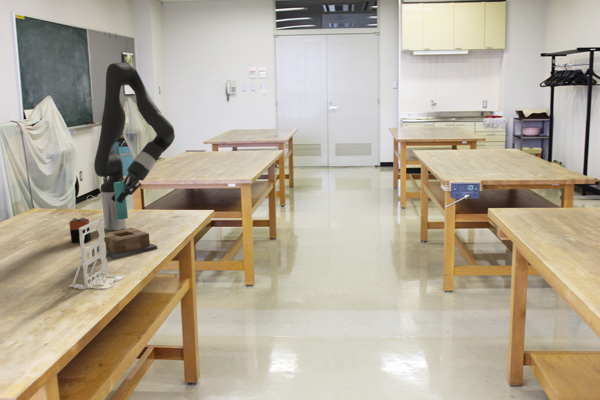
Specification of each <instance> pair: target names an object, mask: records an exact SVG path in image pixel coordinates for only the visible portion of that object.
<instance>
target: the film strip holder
mask: <svg viewBox="0 0 600 400" xmlns="http://www.w3.org/2000/svg"><path fill="white" fill-rule="evenodd" d="M96 224H97V226H96ZM92 226H93V227H94V228H92ZM88 227H89V229H90V231H88V232H87V228H88ZM84 229H85V233H84V234H83V232H82V230H84ZM96 230H97V232H98V238H97V239H98V240H97V241H96V242H94V243H92V244H91V245H89V246H86V244H85V243H84V237H85V235H86V234H88V233H90V234H91V233H92V232H95V231H96ZM79 233H80V236H79V237H80V243H79V244H80V251H81V252H80V253H81V256H80V262H79V264H78V268H77V270H76V273H75V276H74V278H73V281H72V283H71V284H70V285H69V288H70V287H74V288H75V289H74V288H73V289H74V290H87V289H86V288H94V289H93V290H107V288H109V289H112V288H113V287H114V286H115V282H119V281H121V280H125V278H126V276H125V274H118V273H108V272H109V265H108V259H107V256H106V244H105V242H104V238H105V234H104V233H105V227H104V222H103V218H97V219H95V220H94V221H91V222H89V224H87V225H85V226H83V227H80V228H79ZM98 246H99V252H97V247H98ZM93 249H94V250H93ZM92 250H93V251H94V255H93V253H92ZM87 253H88V259H87ZM98 260H100V261H101V265H100V267H101V268H100V270H99V271H95V267H96V265H97V262H98ZM91 264H93V265H92V268H91V271H90V272H88V269H89V267H88V266H89V265H91ZM81 267H82V270H83V273H82V274H83V283H84V284H82V283H81V284H79V283H77V284H76V281H77V278H78V275H79V273H80V270H81ZM94 271H95V272H94ZM93 277H94V279H92V278H93ZM105 277H106V278H105ZM111 277H112V278H111ZM91 284H92V285H91ZM93 284H94V286H93ZM90 285H91V287H89V286H90ZM92 286H93V287H92ZM111 286H112V287H111ZM76 288H78V289H76Z"/></svg>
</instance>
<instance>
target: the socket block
mask: <svg viewBox="0 0 600 400" xmlns="http://www.w3.org/2000/svg"><path fill="white" fill-rule="evenodd" d="M104 234H105V238H104V242H105V244H106V257H108V258H110V259H112V260H117V259H120V258H125V257H130V256H132V255H137V254H141V253H145V252H150V251H155V250H158V245H155V244H153V243H151V242H150V241H151V240H150V233H149V232H146V231H142V230H139V229H136V228H133V227H129V228H124V229H120V230H113V231H109V232H104ZM92 250H93V251H94V249H92ZM98 252H99V246H98V247H97V253H98Z"/></svg>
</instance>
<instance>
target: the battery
mask: <svg viewBox="0 0 600 400" xmlns="http://www.w3.org/2000/svg"><path fill="white" fill-rule="evenodd" d="M89 223H90V220H89V219H88V218H87V217H80V218H78V219H77V218H76V217H75V218H72V220H70V221H69V223H68V224H69V232H70V242H71V243H72V244H80V237H79V236H80V233H79V228H80V227H83V226H85V225H87V224H89ZM88 231H90V229H89V227H88V228H87V232H88ZM82 232H83V234H84V233H85V229H84V230H82ZM91 236H92V235H91V232H90V233H88V234H86V235H85V237H84V244H85V243H89V242H90V241H91V240H92V238H91Z"/></svg>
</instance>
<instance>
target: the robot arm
mask: <svg viewBox="0 0 600 400" xmlns="http://www.w3.org/2000/svg"><path fill="white" fill-rule="evenodd" d="M122 86H129V87H130V88H131V90H132V91H133V92H134V95H135V98H136V99H135V101H136V107H137V110H138V112H139V113H140V115H141V117H142V119H144V121H145V123H146V124H148V125H149V126H150V127H151V128H152V129H153V131H154V132H155V134H156V135H155V137H154V138H153V139H152V140H151V141H148V142H147V143H146V144H145V146H144V147H143V148H142V150H141V151H140V152H139V153H138V154H137V155H136V156H135V158H134V159H133V161H132V162H131V164H129V166H128V167H127V169H126V170H127V172H128V173H127V174H126V175H125V176H124V166H123V161H122V158H121V156H120V155H118V154H117V153H113V154H111V151H112V148H113V147H114V145H115V144H116V142H117V141H118V140H119V139H120V137H121V136H122V134H123V133H124V130H125V124H126V117H127V115H126V112H125V108H124V107H123V104H122V103H121V100H120V99H121V95H120V94H121V88H122ZM104 97H105V98H104V105H103V113H102V116H101V117H102V118H101V126H100V128H101V129H100V136H99V140H98V146H97V150H96V152H95V153H96V154H95V158H94V164H93V168H94V172H95V174H96V176H98V177H101V178H102V177H103V178H106V177H109V178H108V179H107V180H106V181H105V182H104V183H102V184H101V185H100V193H101V196H100V197H101V205H102V206H101V207H102V215H103V225H104V231H118V230H123V229H127V223H126V222H127V221H126V219H117V212H116V202H115V192H114V183H115V182H124V183H125V186H124V187H125V188H124V190H123V193H121V194H120V195H119V197H118V198H117V201H118V202H119V203H122V202H123V200H124V199H125V198H126V199H127V197H128V196H129V195H130V196H131V195H133V194H134V193H135V192H136V191H137V190H138V189H139V187H141V186H142V183H141V182H140V181H144V180H145V179H146V178H147V176H148V175H149V173H150V172H151V171H152V169H153V168H154V166H155V164H156V163H157V161H158V160H159V158H161V156H162V154H163V153H164V152H165V151H167V149H168V148H170V146H171V145H172V144H173V142H174V140H175V138H176V137H175V135H176V134H175V129H174V126H173V125H172V124H171V121H169V119H167V118H166V117H165V115H163V114H162V112H161V110H160V109H159V108H158V106H157V105H156V103H155V102H154V101H153V98H152V97H151V96H150V94H149V92H148V90H147V88H146V86H145V83H144V82H143V80H142V78H141V76H140V74H139V72H138V70H137V69H136V67H135V66H134V65H133V64H132V63H131V62H127V61H125V62H124V61H123V62H113V63H111V64H109V65H108V66H107V69H106V73H105V95H104Z"/></svg>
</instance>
